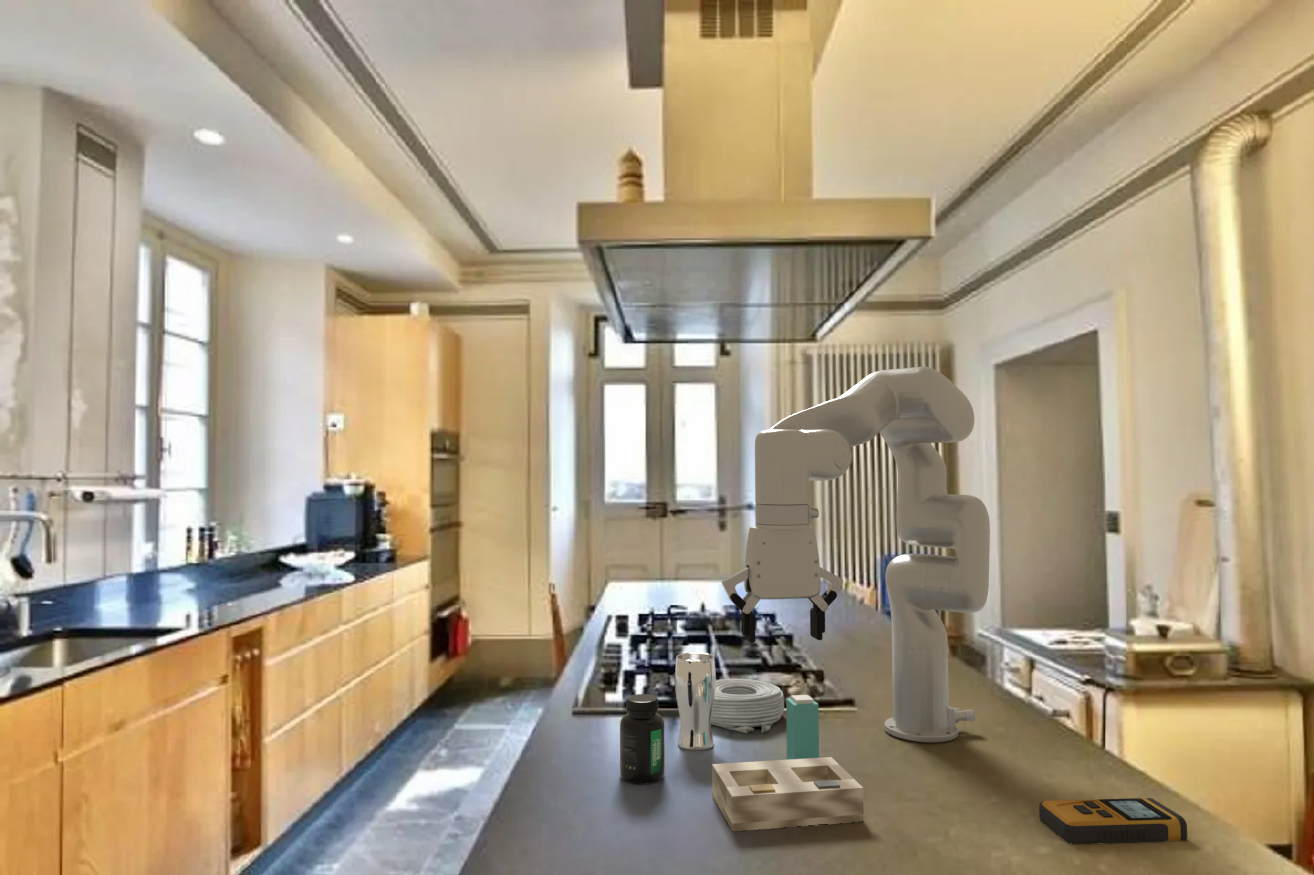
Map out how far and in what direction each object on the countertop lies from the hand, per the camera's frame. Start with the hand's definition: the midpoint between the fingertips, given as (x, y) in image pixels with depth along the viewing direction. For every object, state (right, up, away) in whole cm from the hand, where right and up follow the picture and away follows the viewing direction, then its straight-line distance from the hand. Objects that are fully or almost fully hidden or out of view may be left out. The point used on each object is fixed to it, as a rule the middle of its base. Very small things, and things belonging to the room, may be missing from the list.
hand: (783, 639), depth 117 cm
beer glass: (-11, -25, +26) cm, 37 cm away
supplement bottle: (-20, -24, +11) cm, 33 cm away
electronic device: (+41, -24, -8) cm, 48 cm away
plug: (+6, -24, +16) cm, 29 cm away
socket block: (0, -23, -1) cm, 23 cm away
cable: (-2, -25, +42) cm, 49 cm away
